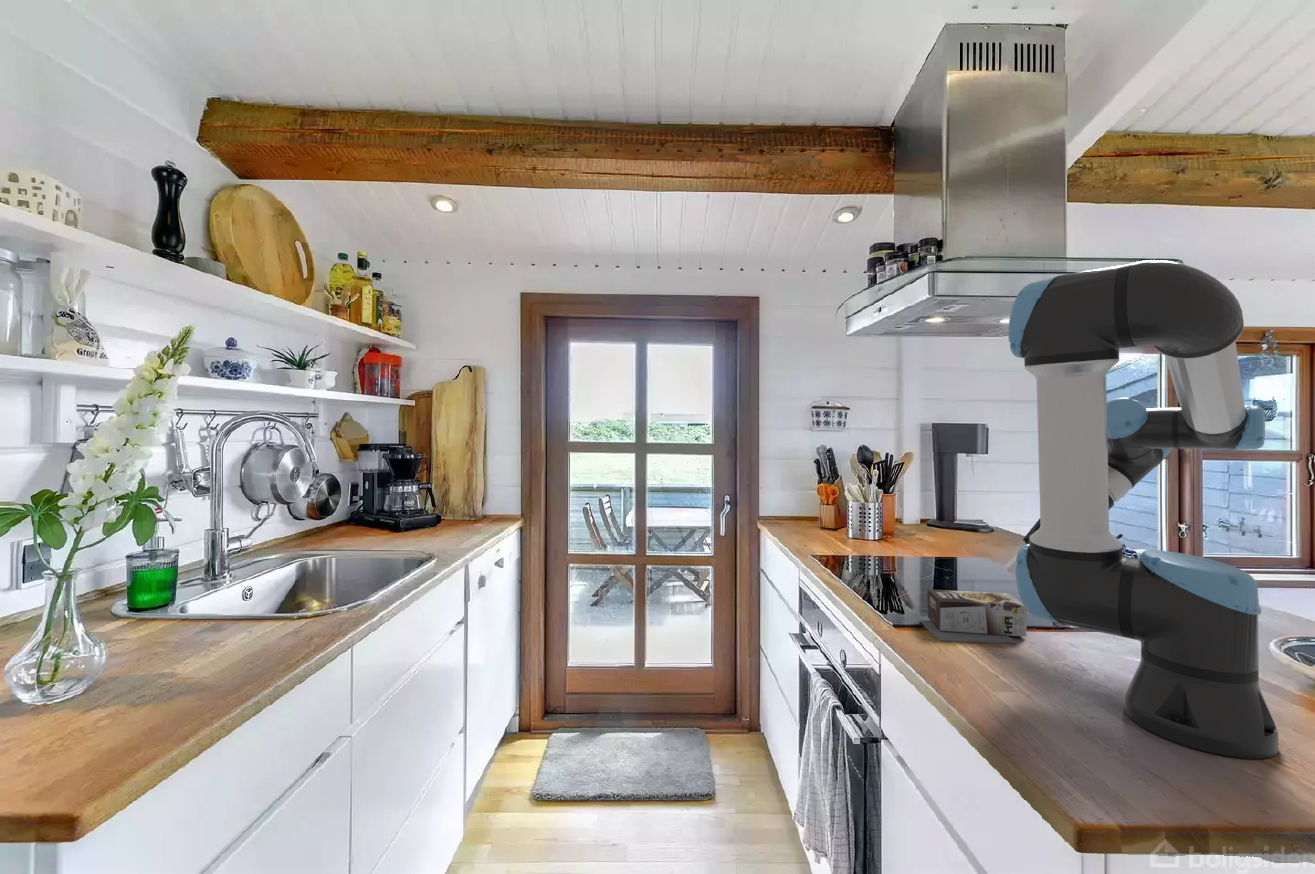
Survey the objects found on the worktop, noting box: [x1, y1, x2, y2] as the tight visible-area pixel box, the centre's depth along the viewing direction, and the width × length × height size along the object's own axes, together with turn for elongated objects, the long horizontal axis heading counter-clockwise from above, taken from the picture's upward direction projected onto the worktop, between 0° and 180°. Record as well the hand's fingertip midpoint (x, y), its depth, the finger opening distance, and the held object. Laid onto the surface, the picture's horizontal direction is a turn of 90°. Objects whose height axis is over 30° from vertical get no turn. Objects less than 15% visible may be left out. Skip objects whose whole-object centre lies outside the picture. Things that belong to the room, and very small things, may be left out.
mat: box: [918, 620, 1017, 644], centre depth 114 cm, size 14×11×1 cm
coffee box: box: [926, 588, 1028, 638], centre depth 116 cm, size 9×6×16 cm
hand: (1010, 572), depth 114 cm, fingers closed
